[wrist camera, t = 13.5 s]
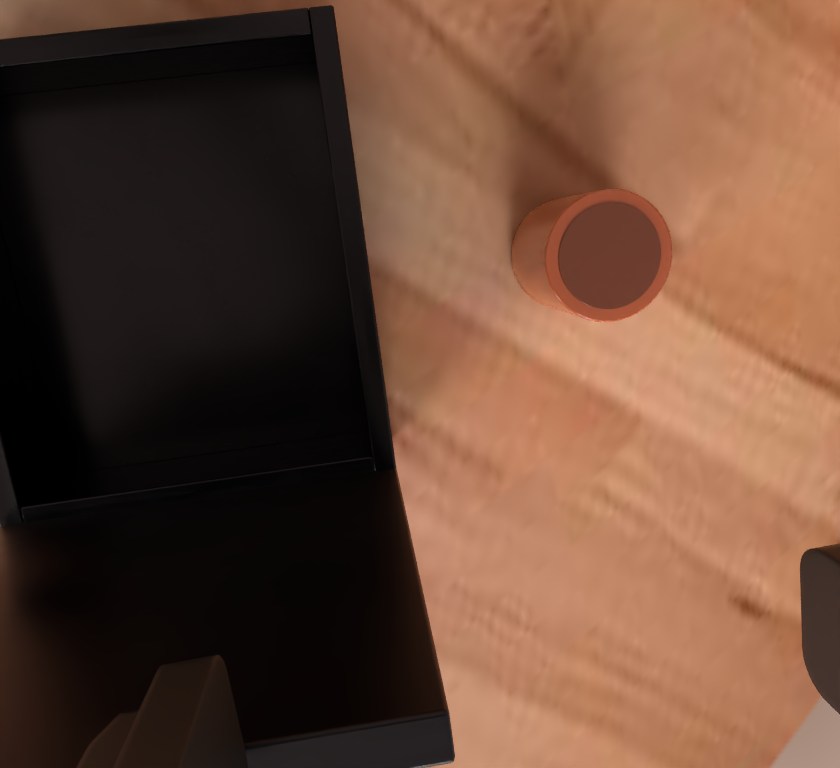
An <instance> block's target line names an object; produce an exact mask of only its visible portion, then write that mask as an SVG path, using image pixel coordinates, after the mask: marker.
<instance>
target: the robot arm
mask: <svg viewBox="0 0 840 768" xmlns="http://www.w3.org/2000/svg"><path fill="white" fill-rule="evenodd" d="M800 583H801V617H802V649H803V657H804V661H805V665H806V668H807V671H808V673H809V676H810V678H811V680H812V682H813V684H814V686H815V687H816V689H817V690H818V692H819V693H820V694H821V696H822V697H823V698H824V699H825V700H826V701H827V702H828V703H829V704H830V705H831V706H832V707H833V708H834V709H835V710H836V711H837V712H838V713H839V714H840V544H835V545H830V546H824V547H819V548H813V549H809V550H807V551H806V552H805V553H804V554H803V556H802V559H801V563H800ZM77 768H248V763H247V756H246V751H245V747H244V742H243V738H242V734H241V729H240V725H239V721H238V716H237V712H236V707H235V703H234V699H233V694H232V690H231V686H230V681H229V677H228V673H227V669H226V666H225V663H224V661H223V659H222V657H221V656H220V655H214V656H209V657H203V658H198V659H192V660H187V661H181V662H175V663H170V664H164V665H162V666H160V667H159V668H158V670H157V672H156V674H155V676H154V678H153V681H152V683H151V685H150V687H149V690H148V692H147V694H146V696H145V698H144V701H143V703H142V705H141V707H140V709H139V710H136V711H131V712H125V713H120V714H119V715H118V716H117V717H116V718H115V719H114V720H113V721H112V722H111V723H110V724H109V725H108V726H107V727H106V728H105V729H104V730H103V731H102V732H101V733H100V734H99V735H98V736H97V737H96V738H95V739H94V740H93V741H92V742H91V743H90V744H89V745H88V747H87V749H86V751H85V753H84V755H83V756H82V758H81V760H80V762H79V764H78V766H77Z"/></svg>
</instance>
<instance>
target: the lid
mask: <svg viewBox="0 0 840 768" xmlns="http://www.w3.org/2000/svg"><path fill="white" fill-rule="evenodd" d="M214 655H220V656H221V657H222V659H223V661H224V663H225V666H226V669H227V673H228V677H229V681H230V686H231V690H232V694H233V699H234V703H235V707H236V712H237V716H238V721H239V725H240V729H241V734H242V738H243V742H244V747H245V751H246V756H247V763H248V768H425V767H431V766H436V765H442V764H448V763H452V762H453V761H454V758H455V753H454V745H453V738H452V730H451V723H450V716H449V710H448V705H447V701H446V696H445V692H444V687H443V682H442V678H441V673H440V668H439V664H438V659H437V655H436V650H435V645H434V641H433V636H432V631H431V627H430V622H429V618H428V613H427V608H426V604H425V599H424V594H423V590H422V585H421V581H420V576H419V571H418V567H417V562H416V557H415V553H414V548H413V544H412V539H411V534H410V530H409V525H408V520H407V516H406V511H405V507H404V502H403V497H402V493H401V488H400V483H399V479H398V474H397V470H396V469H389V470H382V471H375V472H368V473H361V474H354V475H347V476H341V477H334V478H327V479H320V480H313V481H306V482H300V483H293V484H286V485H279V486H272V487H265V488H258V489H252V490H245V491H238V492H231V493H224V494H217V495H210V496H204V497H197V498H190V499H183V500H176V501H169V502H163V503H156V504H149V505H142V506H135V507H128V508H121V509H115V510H108V511H101V512H94V513H87V514H80V515H73V516H67V517H60V518H53V519H46V520H39V521H32V522H26V523H19V524H12V525H5V526H0V768H77V766H78V764H79V762H80V760H81V758H82V756H83V755H84V753H85V751H86V749H87V747H88V745H89V744H90V743H91V742H92V741H93V740H94V739H95V738H96V737H97V736H98V735H99V734H100V733H101V732H102V731H103V730H104V729H105V728H106V727H107V726H108V725H109V724H110V723H111V722H112V721H113V720H114V719H115V718H116V717H117V716H118V715H119V714H120V713H125V712H131V711H136V710H139V709H140V707H141V705H142V703H143V701H144V698H145V696H146V694H147V692H148V690H149V687H150V685H151V683H152V681H153V678H154V676H155V674H156V672H157V670H158V668H159V667H160V666H162V665H164V664H170V663H175V662H181V661H187V660H192V659H198V658H203V657H209V656H214Z"/></svg>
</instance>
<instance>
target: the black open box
mask: <svg viewBox="0 0 840 768" xmlns="http://www.w3.org/2000/svg"><path fill="white" fill-rule="evenodd" d="M389 469H396V463H395V456H394V449H393V441H392V434H391V426H390V419H389V412H388V404H387V397H386V389H385V382H384V375H383V367H382V360H381V353H380V345H379V338H378V330H377V323H376V316H375V308H374V301H373V293H372V286H371V279H370V271H369V264H368V257H367V249H366V242H365V234H364V227H363V220H362V212H361V205H360V198H359V190H358V183H357V175H356V168H355V161H354V153H353V146H352V138H351V131H350V124H349V116H348V109H347V102H346V94H345V87H344V79H343V72H342V65H341V57H340V50H339V43H338V35H337V28H336V20H335V13H334V7H333V6H332V5H329V6H319V7H311V8H309V10H308V8H300V9H291V10H281V11H271V12H261V13H252V14H242V15H232V16H223V17H213V18H203V19H193V20H184V21H174V22H164V23H155V24H145V25H135V26H126V27H116V28H106V29H96V30H87V31H77V32H67V33H58V34H48V35H38V36H28V37H19V38H9V39H0V525H1V526H5V525H12V524H19V523H26V522H32V521H39V520H46V519H53V518H60V517H67V516H73V515H80V514H87V513H94V512H101V511H108V510H115V509H121V508H128V507H135V506H142V505H149V504H156V503H163V502H169V501H176V500H183V499H190V498H197V497H204V496H210V495H217V494H224V493H231V492H238V491H245V490H252V489H258V488H265V487H272V486H279V485H286V484H293V483H300V482H306V481H313V480H320V479H327V478H334V477H341V476H347V475H354V474H361V473H368V472H375V471H382V470H389Z"/></svg>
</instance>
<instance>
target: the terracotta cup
mask: <svg viewBox="0 0 840 768" xmlns="http://www.w3.org/2000/svg"><path fill="white" fill-rule="evenodd" d="M511 261H512V268H513V271H514V275H515V277H516V279H517V281H518V283H519V285H520V286H521V288H522V289H523V290H524V291H525V293H527V294H528V295H529V296H530V297H531V298H532V299H534V300H535V301H537V302H539V303H541V304H543V305H546V306H549V307H552V308H555V309H558V310H561V311H564V312H567V313H570V314H573V315H576V316H579V317H582V318H585V319H588V320H592V321H598V322H612V321H618V320H622V319H625V318H628V317H630V316H632V315H634V314H636V313H638V312H639V311H641V310H643V309H644V308H645V307H646V306H648V305H649V304H650V303H651V302H652V301H653V300H654V299H655V297H656V296H657V295H658V293H659V292H660V291H661V289H662V287H663V286H664V284H665V282H666V279H667V277H668V274H669V271H670V267H671V261H672V242H671V237H670V233H669V230H668V227H667V224H666V222H665V221H664V219H663V217H662V215H661V214H660V213H659V211H658V210H657V209H656V208H655V207H654V206H653V205H652V204H651V203H650V202H649V201H647V200H646V199H645V198H643V197H641V196H639V195H638V194H635V193H633V192H630V191H626V190H622V189H603V190H598V191H593V192H588V193H583V194H579V195H574V196H569V197H565V198H560V199H555V200H552V201H549V202H546V203H544V204H542V205H540V206H538V207H537V208H535V209H534V210H533V211H532V212H530V213H529V214H528V215H527V216H526V218H525V219H524V220H523V221H522V223H521V224H520V226H519V228H518V229H517V231H516V234H515V237H514V239H513V244H512V250H511Z"/></svg>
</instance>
